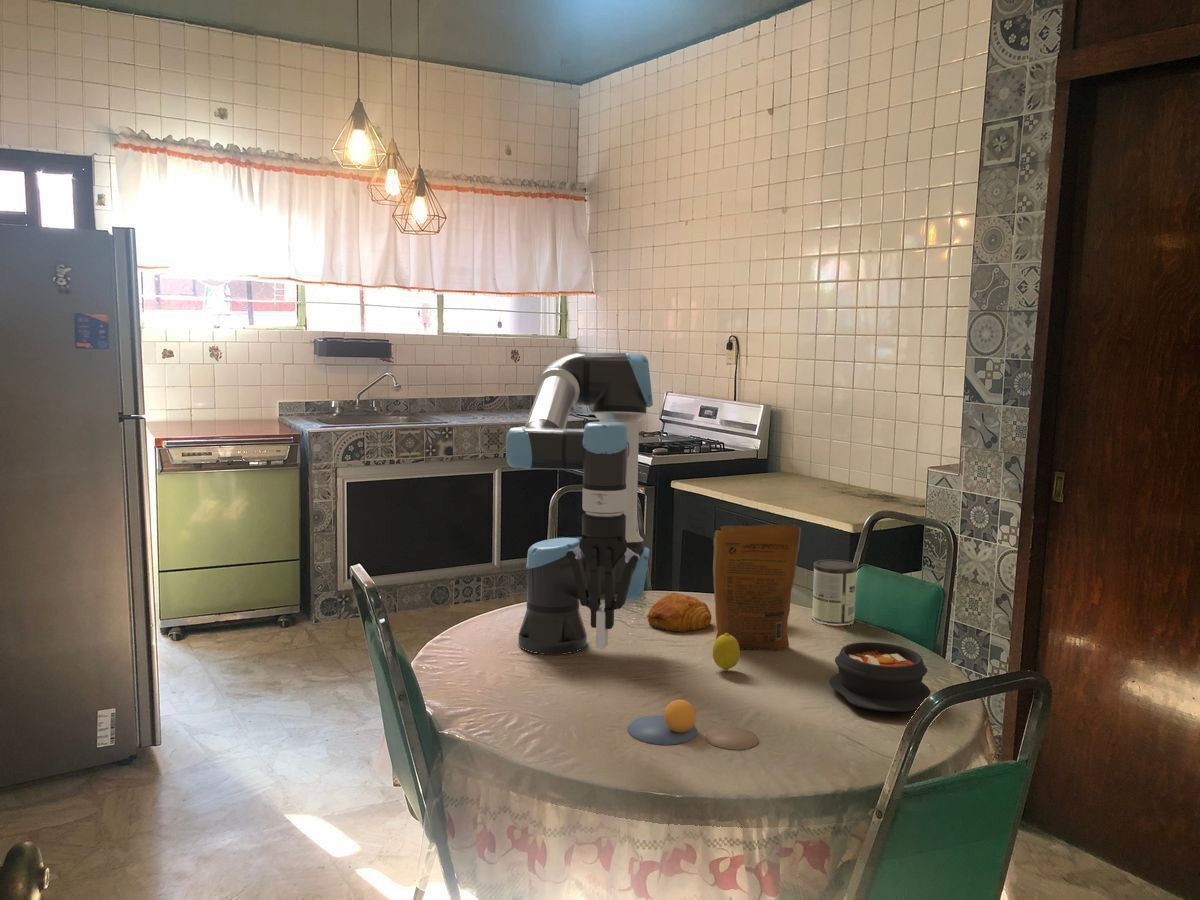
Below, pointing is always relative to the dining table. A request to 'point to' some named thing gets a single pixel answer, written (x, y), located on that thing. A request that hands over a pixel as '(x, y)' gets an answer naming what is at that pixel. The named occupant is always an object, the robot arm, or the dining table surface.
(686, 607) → the croissant
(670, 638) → the dining table surface
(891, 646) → the casserole
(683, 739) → the disc
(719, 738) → the disc
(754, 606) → the pancake mix bag
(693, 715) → the ball
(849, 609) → the coffee can
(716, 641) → the lemon
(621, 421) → the robot arm
